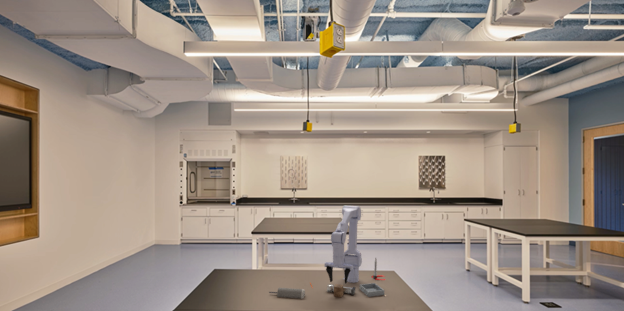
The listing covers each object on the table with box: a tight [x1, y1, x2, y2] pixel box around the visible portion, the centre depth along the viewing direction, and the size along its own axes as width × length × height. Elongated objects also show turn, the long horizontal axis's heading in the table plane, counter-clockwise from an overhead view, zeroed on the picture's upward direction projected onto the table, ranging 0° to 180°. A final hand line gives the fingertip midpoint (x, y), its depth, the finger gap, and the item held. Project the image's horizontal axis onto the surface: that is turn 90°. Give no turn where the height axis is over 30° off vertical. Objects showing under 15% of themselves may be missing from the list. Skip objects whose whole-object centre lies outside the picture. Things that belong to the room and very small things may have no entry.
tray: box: [359, 282, 385, 297], centre depth 180 cm, size 11×9×2 cm
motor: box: [268, 282, 314, 299], centre depth 184 cm, size 23×22×5 cm
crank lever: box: [326, 283, 356, 296], centre depth 179 cm, size 15×4×3 cm, turn 71°
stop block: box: [333, 283, 344, 298], centre depth 175 cm, size 4×4×5 cm
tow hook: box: [371, 257, 386, 281], centre depth 202 cm, size 8×13×9 cm
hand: (338, 282), depth 175 cm, fingers open, 7 cm apart
